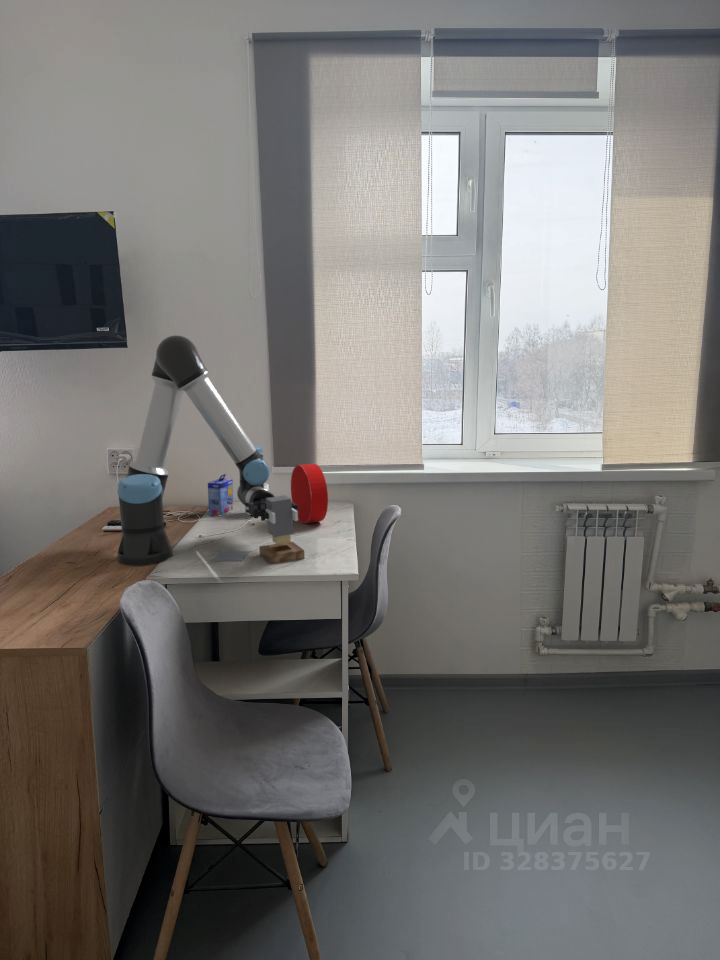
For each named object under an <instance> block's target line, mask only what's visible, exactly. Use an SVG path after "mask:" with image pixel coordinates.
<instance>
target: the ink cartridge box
mask: <svg viewBox="0 0 720 960" xmlns="http://www.w3.org/2000/svg"><path fill="white" fill-rule="evenodd" d="M226 474H227V473H223V474H221V475H220V476H219V478H217V479H215V480H212V481H209V482H207V498H208V515H209V516H215V515H222V516H224V515H223V514H225V513H227V512H229V511H231V510H233V511H234V485H233V484H234V483H233V479H232V478H225V477H226ZM231 512H232V511H231ZM229 513H230V512H229ZM227 514H228V513H227ZM225 515H226V514H225Z"/></svg>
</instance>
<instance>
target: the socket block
mask: <svg viewBox="0 0 720 960" xmlns="http://www.w3.org/2000/svg"><path fill="white" fill-rule="evenodd" d="M259 555H260V556H261V557H262V558H263V560H265V561H266V562H267V563H268V564H269V565H273V564H281V563H287V562H293V561H298V560H304V559H305V558H306V557H305V550H304V549H303V548H302V547H301V546H299V545H298V544H297V543H295V542H293V541H291V542H288V543H282V544H276V543H273V544H267V545H260V546H259Z"/></svg>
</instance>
